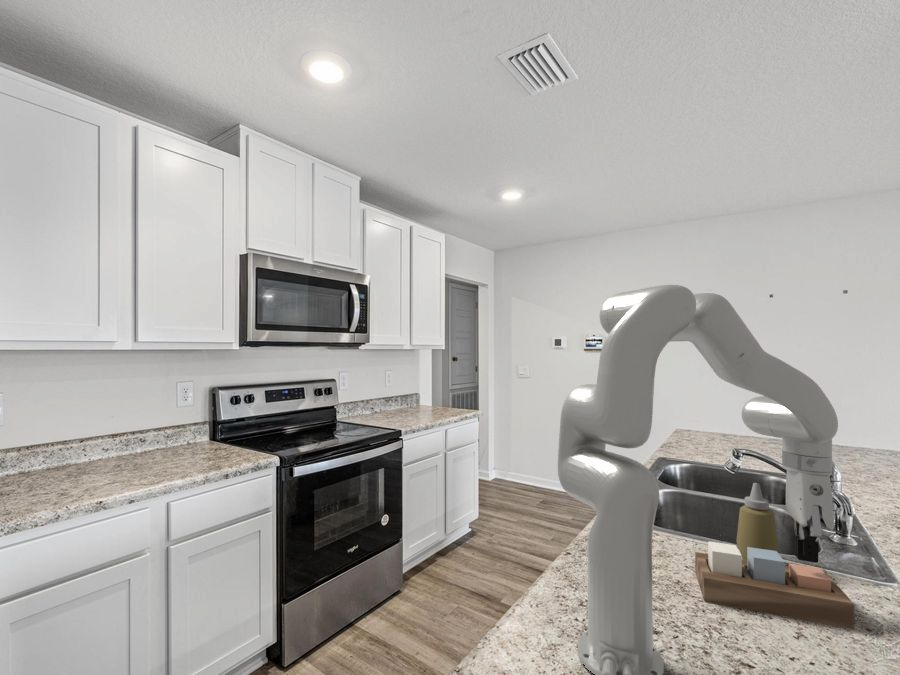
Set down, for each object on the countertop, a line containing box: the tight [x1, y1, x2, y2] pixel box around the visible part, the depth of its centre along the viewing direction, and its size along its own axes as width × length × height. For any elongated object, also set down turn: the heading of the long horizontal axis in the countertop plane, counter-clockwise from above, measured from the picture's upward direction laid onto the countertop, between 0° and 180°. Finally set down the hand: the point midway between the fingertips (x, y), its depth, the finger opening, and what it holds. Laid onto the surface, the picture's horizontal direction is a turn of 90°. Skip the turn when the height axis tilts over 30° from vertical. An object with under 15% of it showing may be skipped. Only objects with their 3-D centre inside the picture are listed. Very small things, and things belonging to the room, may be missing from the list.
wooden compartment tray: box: [694, 551, 855, 631], centre depth 87 cm, size 12×23×4 cm, turn 68°
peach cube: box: [788, 563, 831, 592], centre depth 85 cm, size 5×5×5 cm
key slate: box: [747, 547, 786, 585], centre depth 87 cm, size 5×5×5 cm
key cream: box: [707, 541, 742, 577], centre depth 90 cm, size 5×5×5 cm
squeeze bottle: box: [735, 482, 780, 560], centre depth 102 cm, size 8×8×18 cm
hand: (806, 559), depth 84 cm, fingers closed
